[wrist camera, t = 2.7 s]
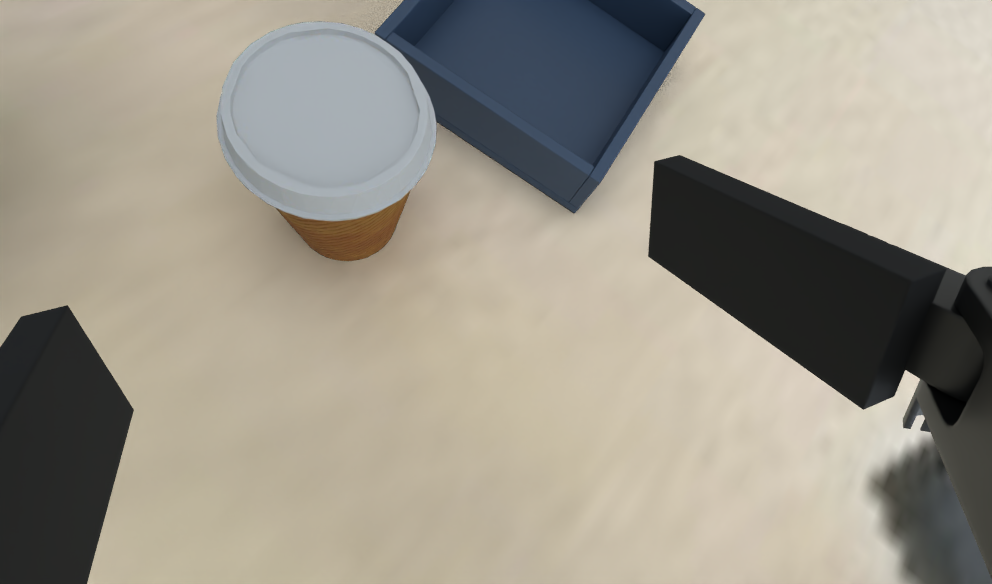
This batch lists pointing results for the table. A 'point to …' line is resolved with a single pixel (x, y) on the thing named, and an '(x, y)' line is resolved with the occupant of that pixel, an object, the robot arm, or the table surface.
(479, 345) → the table surface
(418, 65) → the bin
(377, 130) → the disposable coffee cup
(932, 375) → the robot arm
